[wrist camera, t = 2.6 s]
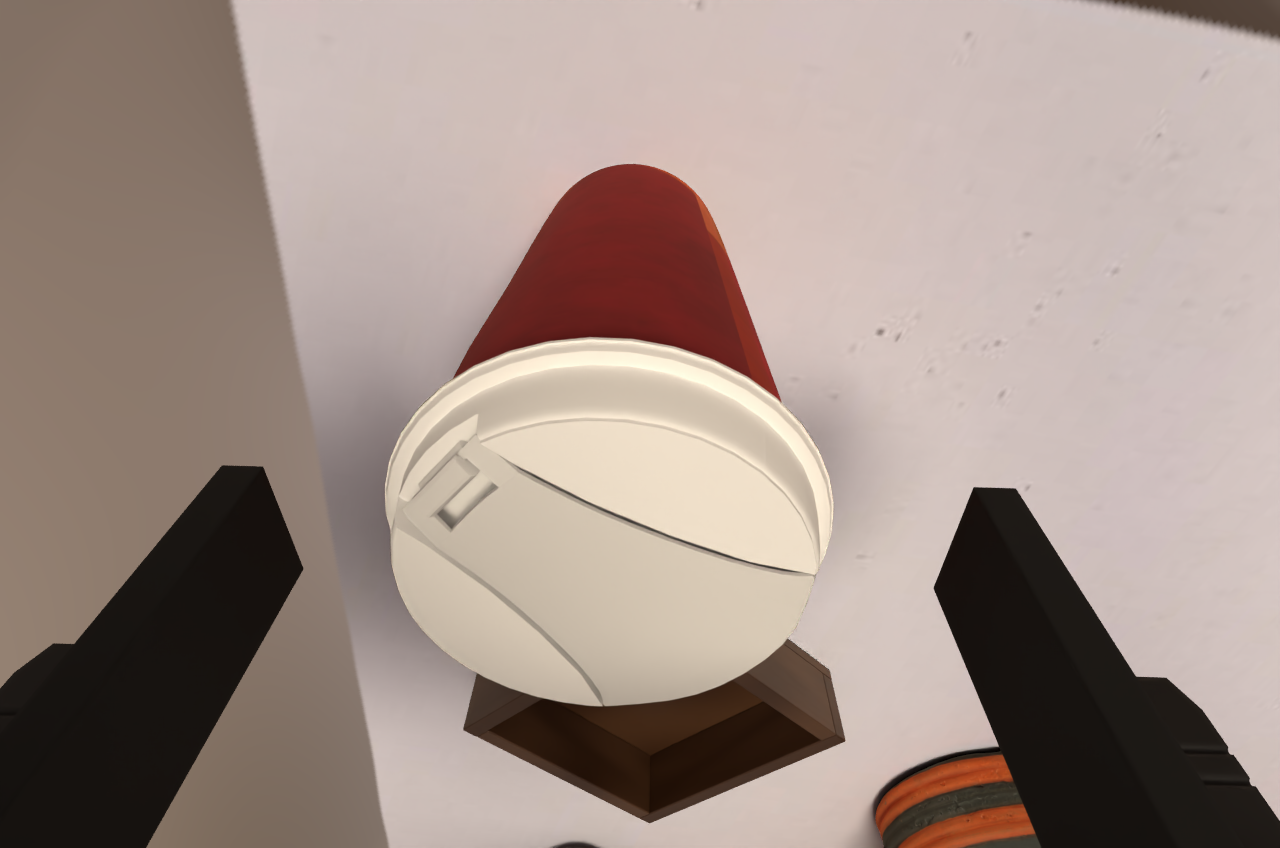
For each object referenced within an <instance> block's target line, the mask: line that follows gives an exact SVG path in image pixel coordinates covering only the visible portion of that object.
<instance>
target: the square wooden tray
mask: <svg viewBox="0 0 1280 848" xmlns="http://www.w3.org/2000/svg"><path fill="white" fill-rule="evenodd" d="M831 680H832V679H831V674H830V671H829V670H828V669H827V668H825V667H824V666H823V665H822V664H820V663H819V662H818V661H816V660H815V659H814V658H812V657H811V656H810V655H808V654H807V653H806V652H804V651H803V650H802V649H800V648H799V647H798V646H796V645H795V644H794V643H792V642H791V641H790V640H788V639H786V641H785V642H784V643H783V645H782V646H780V647H779V648H778V649H777V650H776V651H775V652H773V653H772V654H771V655H770V656H769V657H768V658H766V659H765V660H764V661H762V662H761V663H759V664H758V665H756V666H755V667H753V668H752V669H750V670H749V671H747V672H746V673H744V674H742V675H740V676H738V677H736V678H734V679H732V680H730V681H728V682H727V683H725V684H723V685H721V686H718V687H715V688H713V689H710V690H707V691H704V692H702V693H699V694H696V695H692V696H687V697H683V698H679V699H674V700H669V701H661V702H652V703H643V704H631V705H617V706H604V705H603V704H602V706H587V705H579V704H572V703H564V702H559V701H554V700H550V699H545V698H540V697H536V696H533V695H529V694H526V693H523V692H520V691H517V690H514V689H511V688H508V687H506V686H503V685H501V684H499V683H497V682H494V681H492V680H490V679H487V678H485V677H483V676H481V675H480V674H478V673H477V675H476V679H475V683H474V687H473V692H472V696H471V700H470V704H469V708H468V712H467V716H466V720H465V724H464V729H463V730H464V731H466V732H468V733H470V734H472V735H474V736H478V737H479V738H481V739H483V740H485V741H487V742H489V743H491V744H493V745H495V746H497V747H499V748H501V749H503V750H505V751H507V752H509V753H511V754H513V755H515V756H517V757H519V758H521V759H523V760H525V761H527V762H529V763H531V764H532V765H534V766H536V767H538V768H540V769H542V770H544V771H546V772H548V773H550V774H552V775H554V776H556V777H558V778H560V779H562V780H564V781H566V782H568V783H570V784H572V785H574V786H576V787H578V788H580V789H582V790H584V791H586V792H588V793H590V794H592V795H594V796H596V797H598V798H600V799H602V800H604V801H606V802H608V803H610V804H612V805H614V806H616V807H618V808H620V809H622V810H624V811H626V812H628V813H630V814H632V815H634V816H636V817H638V818H640V819H642V820H644V821H646V822H648V823H652V822H654V821H656V820H659V819H661V818H663V817H666V816H668V815H671V814H673V813H675V812H678V811H680V810H683V809H685V808H687V807H690V806H692V805H695V804H697V803H699V802H702V801H704V800H706V799H709V798H711V797H714V796H716V795H718V794H721V793H723V792H726V791H728V790H730V789H733V788H735V787H738V786H740V785H742V784H745V783H747V782H750V781H752V780H754V779H757V778H759V777H761V776H764V775H766V774H769V773H771V772H773V771H776V770H778V769H781V768H783V767H785V766H788V765H790V764H793V763H795V762H797V761H800V760H802V759H804V758H807V757H809V756H812V755H814V754H816V753H819V752H821V751H824V750H826V749H828V748H831V747H833V746H836V745H838V744H840V743H843V742H845V736H844V732H843V728H842V723H841V719H840V714H839V710H838V706H837V701H836V697H835V693H834V688H833V684H832V681H831Z"/></svg>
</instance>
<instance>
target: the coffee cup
mask: <svg viewBox="0 0 1280 848" xmlns="http://www.w3.org/2000/svg"><path fill="white" fill-rule="evenodd" d="M385 508H386V515H387V519H388V523H389V527H390V531H391V535H390V548H391V565H392V569H393V573H394V577H395V580H396V584H397V587H398V591H399V593H400V595H401V597H402V599H403V601H404V603H405V605H406V607H407V609H408V611H409V613H410V615H411V616H412V617H413V619H414V620H415V621H416V623H417V624H418V625H419V627H420V628H421V629H422V631H423V632H424V633H425V634H426V635H427V636H428V637H429V638H430V639H431V640H432V641H433V642H434V643H435V644H436V645H437V646H439V647H440V648H441V649H442V650H443V651H444V652H446V653H447V654H448V655H450V656H451V657H453V658H454V659H455V660H457V661H458V662H459V663H461V664H462V665H464V666H466V667H467V668H469V669H471V670H473V671H474V672H476V673H478V674H480V675H481V676H483V677H485V678H487V679H490V680H492V681H494V682H497V683H499V684H501V685H503V686H506V687H508V688H511V689H514V690H517V691H520V692H523V693H526V694H529V695H533V696H536V697H540V698H545V699H550V700H554V701H559V702H564V703H572V704H579V705H587V706H602V704H603V705H604V706H617V705H631V704H643V703H652V702H661V701H669V700H674V699H679V698H683V697H687V696H692V695H696V694H699V693H702V692H704V691H707V690H710V689H713V688H715V687H718V686H721V685H723V684H725V683H727V682H728V681H730V680H732V679H734V678H736V677H738V676H740V675H742V674H744V673H746V672H747V671H749V670H750V669H752V668H753V667H755V666H756V665H758V664H759V663H761V662H762V661H764V660H765V659H766V658H768V657H769V656H770V655H771V654H772V653H773V652H775V651H776V650H777V649H778V648H779V647H780V646H782V645H783V643H784V642H785V641H786V639H787V638H788V637H789V636H790V634H791V633H792V632H793V630H794V629H795V628H796V626H797V624H798V622H799V620H800V617H801V615H802V613H803V611H804V608H805V606H806V604H807V601H808V598H809V595H810V592H811V589H812V586H813V583H814V580H815V575H816V573H817V571H818V570H819V567H820V565H821V563H822V561H823V558H824V556H825V553H826V550H827V546H828V543H829V539H830V536H831V532H832V524H833V508H834V503H833V497H832V491H831V485H830V478H829V475H828V472H827V470H826V467H825V465H824V462H823V460H822V457H821V455H820V452H819V450H818V448H817V446H816V445H815V443H814V442H813V440H812V439H811V437H810V435H809V434H808V432H807V431H806V429H805V428H804V426H803V425H802V423H801V422H800V421H799V420H798V419H797V418H796V417H795V416H794V415H793V414H792V413H791V412H790V411H789V410H788V409H787V408H786V407H785V406H784V405H783V404H782V402H781V399H780V396H779V394H778V391H777V388H776V386H775V383H774V380H773V377H772V375H771V372H770V369H769V366H768V364H767V361H766V358H765V355H764V352H763V350H762V347H761V344H760V341H759V339H758V336H757V333H756V330H755V328H754V325H753V322H752V319H751V317H750V314H749V311H748V308H747V306H746V303H745V300H744V297H743V295H742V292H741V289H740V287H739V284H738V281H737V279H736V276H735V273H734V270H733V268H732V265H731V262H730V260H729V257H728V255H727V252H726V249H725V247H724V244H723V242H722V239H721V236H720V234H719V232H718V229H717V227H716V225H715V223H714V220H713V218H712V216H711V214H710V213H709V211H708V209H707V207H706V206H705V204H704V203H703V201H702V200H701V199H700V197H699V196H698V195H697V194H696V193H695V192H694V191H693V190H692V189H691V188H690V187H689V186H688V185H687V184H686V183H684V182H683V181H682V180H680V179H679V178H677V177H676V176H674V175H672V174H670V173H668V172H666V171H663V170H661V169H658V168H655V167H651V166H646V165H638V164H623V165H616V166H611V167H607V168H604V169H601V170H598V171H596V172H593V173H592V174H590V175H588V176H586V177H585V178H583V179H581V180H580V181H579V182H577V183H576V184H575V185H574V186H572V187H571V188H570V189H569V190H568V191H567V192H566V193H565V195H564V196H563V197H562V198H561V200H560V201H559V202H558V203H557V205H556V206H555V208H554V209H553V211H552V212H551V214H550V215H549V217H548V219H547V220H546V222H545V223H544V225H543V227H542V228H541V230H540V232H539V233H538V235H537V237H536V238H535V240H534V242H533V243H532V245H531V247H530V249H529V250H528V252H527V254H526V255H525V257H524V259H523V261H522V262H521V264H520V266H519V268H518V269H517V271H516V273H515V275H514V276H513V278H512V280H511V282H510V283H509V285H508V287H507V288H506V290H505V291H504V293H503V295H502V296H501V298H500V299H499V301H498V303H497V304H496V306H495V307H494V309H493V311H492V312H491V314H490V315H489V317H488V319H487V320H486V322H485V323H484V325H483V327H482V328H481V330H480V331H479V333H478V335H477V336H476V338H475V339H474V341H473V343H472V344H471V346H470V347H469V349H468V351H467V353H466V355H465V357H464V359H463V361H462V362H461V364H460V366H459V368H458V370H457V372H456V374H455V376H454V378H453V379H452V380H450V381H449V382H447V383H446V384H444V385H443V386H442V387H441V388H440V389H439V390H438V391H436V392H435V393H434V394H433V395H432V396H431V397H430V398H429V399H428V400H427V401H426V402H425V403H423V404H422V405H421V406H420V407H419V409H418V410H417V411H416V413H415V414H414V416H413V417H412V418H411V420H410V421H409V422H408V424H407V425H406V427H405V428H404V429H403V431H402V433H401V435H400V437H399V439H398V441H397V444H396V446H395V448H394V451H393V453H392V455H391V458H390V460H389V465H388V471H387V476H386V482H385Z"/></svg>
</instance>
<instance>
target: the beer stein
mask: <svg viewBox="0 0 1280 848" xmlns="http://www.w3.org/2000/svg"><path fill="white" fill-rule="evenodd" d="M875 820H876V825H877V827H878V830H879V832H880V835H881V838H882V840H883V845H884V848H1041V846H1040V843H1039V841H1038V839H1037V836H1036V834H1035V831H1034V829H1033V826H1032V824H1031V822H1030V819H1029V817H1028V814H1027V812H1026V810H1025V807H1024V805H1023V802H1022V800H1021V798H1020V795H1019V793H1018V790H1017V788H1016V786H1015V783H1014V781H1013V778H1012V776H1011V774H1010V771H1009V769H1008V766H1007V764H1006V761H1005V759H1004V757H1003V754H1002V752H1001V751H1000V752H995V753H984V754H983V753H978V754H970V755H963V756H959V757H955V758H951V759H949V760H946V761H943V762H940V763H937V764H935V765H932V766H930V767H928V768H926V769H923V770H921V771H919V772H916V773H915V774H913V775H911V776H909V777H907V778H906V779H905V780H903V781H901V782H900V783H898V784H897V785H895V786H894V787H893V788H892V789H890V790H889V791H888V792H887V793H886V794H885V795H884V796H883V798H882V800H881V802H880V804H879V806H878V807H877V811H876V819H875Z"/></svg>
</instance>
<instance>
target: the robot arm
mask: <svg viewBox="0 0 1280 848" xmlns="http://www.w3.org/2000/svg"><path fill="white" fill-rule="evenodd" d="M302 571H303V566H302V564H301V561H300V559H299V556H298V554H297V551H296V549H295V546H294V544H293V541H292V539H291V536H290V533H289V531H288V528H287V526H286V523H285V521H284V518H283V516H282V513H281V511H280V508H279V506H278V503H277V501H276V498H275V496H274V493H273V491H272V488H271V486H270V483H269V481H268V478H267V476H266V473H265V470H264V468H263V467H256V466H221V467H220V469H219V470H218V471H217V472H216V473H215V475H214V476H213V477H212V478H211V480H210V481H209V482H208V483H207V484H206V486H205V487H204V488H203V489H202V490H201V492H200V493H199V494H198V495H197V496H196V498H195V499H194V500H193V501H192V502H191V504H190V505H189V506H188V507H187V509H186V510H185V511H184V512H183V513H182V515H181V516H180V517H179V518H178V520H177V521H176V522H175V523H174V524H173V525H172V527H171V528H170V529H169V530H168V532H167V533H166V534H165V535H164V536H163V537H162V539H161V540H160V541H159V542H158V543H157V545H156V546H155V547H154V548H153V550H152V551H151V552H150V553H149V554H148V556H147V557H146V558H145V559H144V560H143V562H142V563H141V564H140V565H139V566H138V568H137V569H136V570H135V571H134V573H133V574H132V575H131V576H130V577H129V579H128V580H127V581H126V582H125V583H124V585H123V586H122V587H121V588H120V589H119V591H118V592H117V593H116V594H115V596H114V597H113V598H112V599H111V600H110V601H109V603H108V604H107V605H106V606H105V608H104V609H103V610H102V611H101V612H100V614H99V615H98V616H97V617H96V618H95V620H94V621H93V622H92V623H91V624H90V626H89V627H88V628H87V629H86V630H85V632H84V633H83V634H82V635H81V636H80V638H79V639H78V640H77V641H76V643H75V644H52V645H51V646H50V647H48V648H47V649H45V650H44V651H43V652H41V653H40V654H39V655H37V656H36V657H35V658H33V659H32V660H31V661H29V662H28V663H27V664H25V665H24V666H23V667H21V668H20V669H19V670H17V671H16V672H15V673H14V674H13V675H12V676H11V677H10V678H9V679H8V680H7V681H6V683H5V684H4V685H3V686H2V687H1V688H0V848H146V847H147V845H148V843H149V841H150V840H151V838H152V836H153V834H154V833H155V831H156V829H157V827H158V825H159V824H160V822H161V820H162V818H163V817H164V815H165V813H166V811H167V810H168V808H169V806H170V804H171V802H172V801H173V799H174V797H175V795H176V794H177V792H178V790H179V788H180V787H181V785H182V783H183V781H184V779H185V778H186V776H187V774H188V772H189V770H190V769H191V767H192V765H193V764H194V762H195V760H196V758H197V756H198V755H199V753H200V751H201V749H202V747H203V746H204V744H205V742H206V741H207V739H208V737H209V735H210V733H211V732H212V730H213V728H214V726H215V725H216V723H217V721H218V719H219V717H220V716H221V714H222V712H223V710H224V709H225V707H226V705H227V703H228V702H229V700H230V698H231V696H232V694H233V693H234V691H235V689H236V687H237V686H238V684H239V682H240V680H241V679H242V677H243V675H244V673H245V671H246V670H247V668H248V666H249V664H250V663H251V661H252V659H253V657H254V655H255V654H256V652H257V650H258V648H259V646H260V645H261V643H262V641H263V640H264V638H265V636H266V634H267V632H268V631H269V629H270V627H271V625H272V624H273V622H274V620H275V618H276V617H277V615H278V613H279V611H280V610H281V608H282V606H283V604H284V602H285V601H286V599H287V597H288V595H289V594H290V592H291V590H292V588H293V586H294V585H295V583H296V581H297V579H298V578H299V576H300V574H301V572H302ZM934 591H935V593H936V595H937V598H938V600H939V603H940V605H941V607H942V610H943V612H944V615H945V617H946V619H947V622H948V624H949V627H950V629H951V631H952V634H953V636H954V639H955V641H956V644H957V646H958V648H959V651H960V653H961V656H962V658H963V660H964V663H965V665H966V668H967V670H968V672H969V675H970V677H971V680H972V682H973V684H974V687H975V689H976V692H977V694H978V696H979V699H980V701H981V704H982V706H983V709H984V711H985V713H986V716H987V718H988V721H989V723H990V725H991V728H992V730H993V733H994V735H995V737H996V740H997V742H998V745H999V747H1000V749H1001V752H1002V754H1003V757H1004V759H1005V761H1006V764H1007V766H1008V769H1009V771H1010V774H1011V776H1012V778H1013V781H1014V783H1015V786H1016V788H1017V790H1018V793H1019V795H1020V798H1021V800H1022V802H1023V805H1024V807H1025V810H1026V812H1027V814H1028V817H1029V819H1030V822H1031V824H1032V826H1033V829H1034V831H1035V834H1036V836H1037V839H1038V841H1039V843H1040V846H1041V848H1280V821H1279V819H1278V818H1277V817H1276V815H1275V814H1274V812H1273V811H1272V809H1271V808H1270V806H1269V805H1268V804H1267V802H1266V801H1265V799H1264V798H1263V796H1262V795H1261V794H1260V792H1259V791H1258V789H1257V788H1256V786H1252V785H1251V784H1250V782H1249V779H1250V778H1249V776H1248V775H1247V773H1246V772H1245V771H1244V769H1243V768H1242V766H1241V765H1240V763H1239V762H1238V761H1237V759H1236V758H1235V756H1234V755H1230V754H1229V752H1228V746H1227V745H1226V743H1225V742H1224V740H1223V739H1222V738H1221V736H1220V735H1219V733H1218V732H1217V730H1216V729H1215V728H1214V726H1213V725H1212V723H1211V722H1210V720H1209V719H1208V717H1207V716H1206V715H1205V713H1204V712H1203V710H1202V709H1201V708H1199V707H1198V706H1197V705H1196V704H1195V703H1194V702H1193V701H1192V700H1190V699H1189V698H1188V697H1187V696H1186V695H1185V694H1184V693H1183V692H1182V691H1180V690H1179V689H1178V688H1177V687H1176V686H1175V685H1174V684H1173V683H1171V682H1170V681H1169V680H1168V679H1167V678H1158V677H1136V676H1135V675H1134V673H1133V671H1132V670H1131V668H1130V667H1129V665H1128V664H1127V662H1126V660H1125V659H1124V657H1123V656H1122V654H1121V653H1120V651H1119V649H1118V648H1117V646H1116V645H1115V643H1114V642H1113V640H1112V638H1111V637H1110V635H1109V634H1108V632H1107V631H1106V629H1105V628H1104V626H1103V624H1102V623H1101V621H1100V620H1099V618H1098V617H1097V615H1096V613H1095V612H1094V610H1093V609H1092V607H1091V606H1090V604H1089V602H1088V601H1087V599H1086V598H1085V596H1084V595H1083V593H1082V592H1081V590H1080V588H1079V587H1078V585H1077V584H1076V582H1075V581H1074V579H1073V577H1072V576H1071V574H1070V573H1069V571H1068V570H1067V568H1066V566H1065V565H1064V563H1063V562H1062V560H1061V559H1060V557H1059V555H1058V554H1057V552H1056V551H1055V549H1054V548H1053V546H1052V545H1051V543H1050V541H1049V540H1048V538H1047V537H1046V535H1045V534H1044V532H1043V530H1042V529H1041V527H1040V526H1039V524H1038V523H1037V521H1036V519H1035V518H1034V516H1033V515H1032V513H1031V512H1030V510H1029V508H1028V507H1027V505H1026V504H1025V502H1024V501H1023V499H1022V498H1021V496H1020V494H1019V493H1018V491H1017V490H1016V489H1014V488H979V487H974V488H973V490H972V493H971V495H970V498H969V500H968V503H967V506H966V508H965V511H964V513H963V516H962V518H961V521H960V523H959V526H958V528H957V531H956V533H955V536H954V538H953V541H952V543H951V546H950V548H949V551H948V553H947V556H946V558H945V561H944V563H943V566H942V568H941V571H940V573H939V576H938V578H937V581H936V583H935V586H934Z"/></svg>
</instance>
